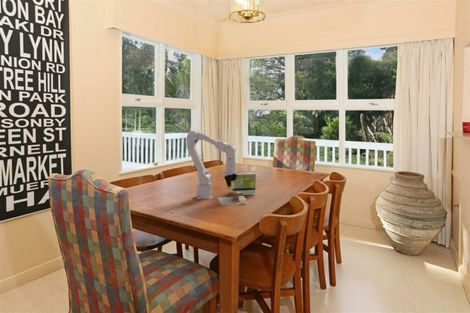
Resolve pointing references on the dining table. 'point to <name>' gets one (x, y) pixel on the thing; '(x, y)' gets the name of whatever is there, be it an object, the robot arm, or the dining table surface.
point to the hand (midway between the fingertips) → (230, 186)
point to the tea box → (245, 183)
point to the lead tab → (231, 185)
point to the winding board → (227, 201)
